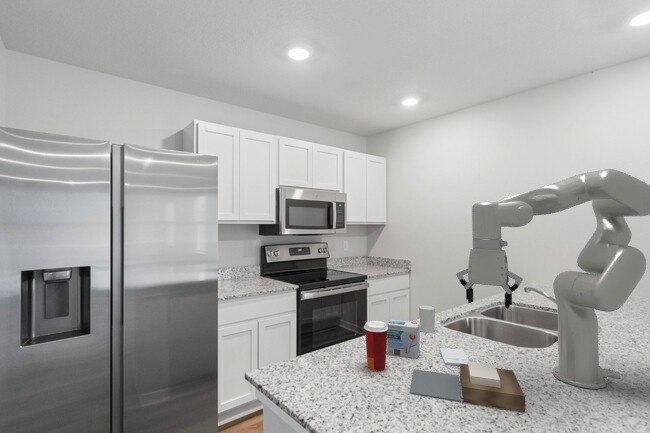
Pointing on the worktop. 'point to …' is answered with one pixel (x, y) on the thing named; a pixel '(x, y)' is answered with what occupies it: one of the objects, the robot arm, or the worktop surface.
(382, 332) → the paper cup
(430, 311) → the grey tapered cup
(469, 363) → the cream rectangular block
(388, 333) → the light bulb box
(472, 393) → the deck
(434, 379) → the mat
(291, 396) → the worktop surface
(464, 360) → the external hard drive
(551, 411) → the worktop surface
